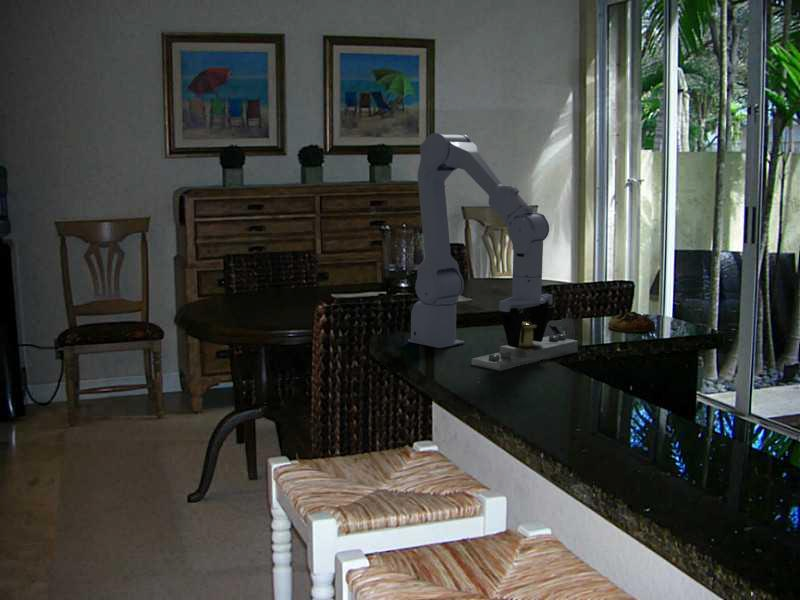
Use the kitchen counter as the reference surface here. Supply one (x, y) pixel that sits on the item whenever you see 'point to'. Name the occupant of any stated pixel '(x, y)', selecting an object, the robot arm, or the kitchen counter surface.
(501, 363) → the square window plate
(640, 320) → the bread roll
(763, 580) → the kitchen counter surface
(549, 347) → the right chain end
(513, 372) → the kitchen counter surface
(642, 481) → the kitchen counter surface
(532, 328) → the pin
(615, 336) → the kitchen counter surface
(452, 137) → the robot arm
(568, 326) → the caliper
